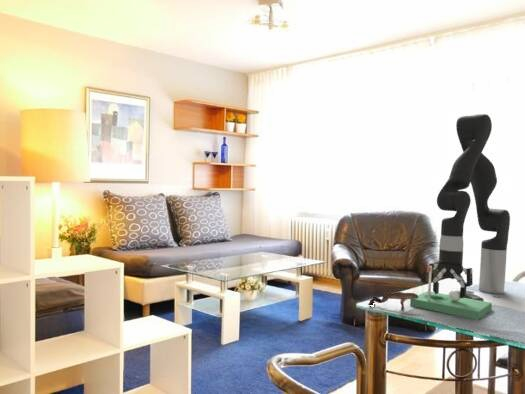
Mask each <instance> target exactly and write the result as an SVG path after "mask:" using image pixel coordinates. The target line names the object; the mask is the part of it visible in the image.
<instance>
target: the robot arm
mask: <svg viewBox="0 0 525 394" xmlns="http://www.w3.org/2000/svg"><path fill="white" fill-rule="evenodd" d="M455 127H456V133H457V137H458V141H459V143H460V146H461V149H462V153H461V154H460V155H459V156H458V157H457V158H456V160H455V161H454V163H453V165H452V167H451V171H450V174H449V176H448V178H447V181H446V182H445V183H444V185H443V187H442V188H441V189H440V191H439V193H438V195H437V197H436V205H437V206H438V207H437V208H439V210H441V211H449V212H455V214H454V216H452V217H446V218H445V217H444V218H443V219H442V220H441V227H440V238H439V239H440V240H439V245H438V247H439V249H438V250H439V251H438V252H439V254H438V263H435V262H431V263H429V265H428V266H432V275H431V283H433V284H432V292H434V293H435V294H438V293H439V291H440V289H439V288H440V282H439V281H440V280H441V279H442V278H444V279H451V280H456V282H457V283H459V286H460V290H459V292H460V298H464V297H465V296H466V292H467V288H468V287H471V286H473V285H474V284H473V283H474V282H473V280H474V279H473V268H472V267H464V266H463V261H464V259H463V258H464V237H463V236H464V226H465V222H466V221H465V220H466V217H467V215H468V211H469V209H470V206H471V200H472V199H471V196H470V194H469V192H468V191H466V189H468V188H469V186H470V185H471V188H472V192H473V197H474V202H475V207H476V215H477V216H476V217H477V222H478V223H477V224H478V225H479V228H480V229H481V230H482V231H486V232H493V233H495V236H494V237H492V238H488V239H484V240H482V241H481V246H480V247H481V248H480V264H479V265H480V267H479V279H478V280H479V283H478V290H479V291H480V292H484V293H489V294H504V293H505V287H506V286H505V284H506V271H507V270H506V269H507V268H506V267H507V250H508V244H509V243H508V242H509V232H510V226H511V216H510V212H509V211H508V210H507V209H499V208H490V207H489V205H488V201H489V199H490V197H491V195H492V194H493V192H494V190H495V189H496V186H497V184H498V183H497V182H498V178H497V173H496V169H495V166H494V164H493V163H492V161H491V160H490V159H489V158H488V157H487V156H486V155H485V154H483V150H484V149H485V147H486V144H487V143H488V140H489V138H490V135H491V133H492V127H493V122H492V120H491V117H490V115H488V114H486V113H483V114H482V113H479V114H470V115H468V114H467V115H462V116H460V117H458V118H457V120H456V125H455ZM436 269H437V271H439V272H438V274H437V275H436V276H434V275H435V270H436ZM463 272H464V274H465V275H466V281H465V280H464V279H465V278H464V277H463V275H462V273H463ZM427 273H428V274H427V281H429V272H427Z"/></svg>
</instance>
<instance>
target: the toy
mask: <svg viewBox="0 0 525 394" xmlns="http://www.w3.org/2000/svg"><path fill="white" fill-rule="evenodd" d="M418 295H419V294H417V293H414V292H402V291H394V292H389V293H388V292H387V293H385V294H382V295H381V297H382V298H380V297H377V296H373V297H372V298H371V299H370V300H369V302H368V305H373V303H378V304H383V303H386V302H388V301H389V300H390V299H391V300H392V299H393V300H400V301H399V302H400V305H401V311H402V312H405V303H404V302H405V301H407V300H410V299H418ZM368 305H367V306H368Z"/></svg>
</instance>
